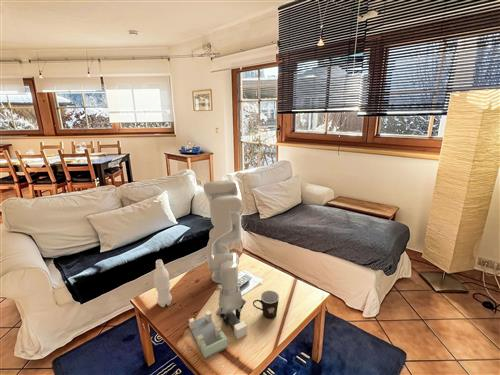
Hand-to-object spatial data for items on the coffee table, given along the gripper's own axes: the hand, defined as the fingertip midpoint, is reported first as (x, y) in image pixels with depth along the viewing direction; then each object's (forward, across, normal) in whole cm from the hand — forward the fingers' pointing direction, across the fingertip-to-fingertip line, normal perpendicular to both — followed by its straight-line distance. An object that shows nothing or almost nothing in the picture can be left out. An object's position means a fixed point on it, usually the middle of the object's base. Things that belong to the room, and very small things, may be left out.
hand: (231, 320), depth 124 cm
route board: (+1, +13, +2) cm, 13 cm away
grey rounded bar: (+1, 0, 0) cm, 1 cm away
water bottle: (+1, +24, -28) cm, 37 cm away
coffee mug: (+1, -16, +4) cm, 17 cm away
